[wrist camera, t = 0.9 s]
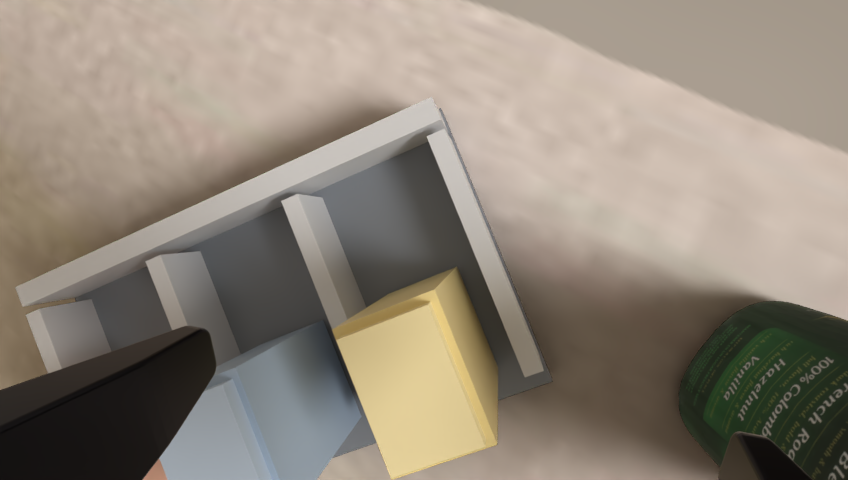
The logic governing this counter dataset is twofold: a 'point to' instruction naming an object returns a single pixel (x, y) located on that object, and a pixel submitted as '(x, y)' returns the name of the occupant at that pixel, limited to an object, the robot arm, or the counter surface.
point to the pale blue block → (268, 414)
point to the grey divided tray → (298, 258)
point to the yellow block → (423, 374)
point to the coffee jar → (774, 386)
